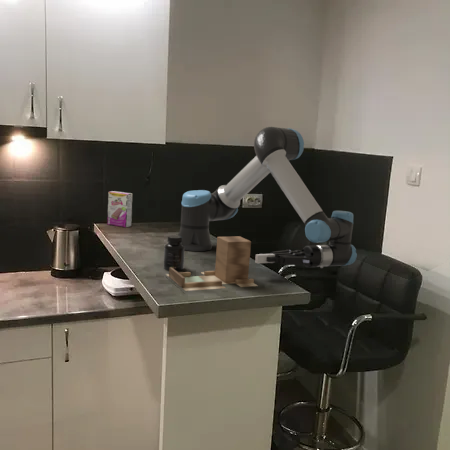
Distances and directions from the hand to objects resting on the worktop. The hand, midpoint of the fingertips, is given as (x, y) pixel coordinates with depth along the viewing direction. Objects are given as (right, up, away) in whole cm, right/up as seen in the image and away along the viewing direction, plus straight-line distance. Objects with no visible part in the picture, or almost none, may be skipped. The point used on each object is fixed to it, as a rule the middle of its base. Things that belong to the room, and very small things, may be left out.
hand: (256, 258), depth 162 cm
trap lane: (-15, -7, -5) cm, 17 cm away
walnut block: (-8, -6, -2) cm, 11 cm away
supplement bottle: (-28, -5, +6) cm, 29 cm away
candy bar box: (-62, +11, +82) cm, 103 cm away
